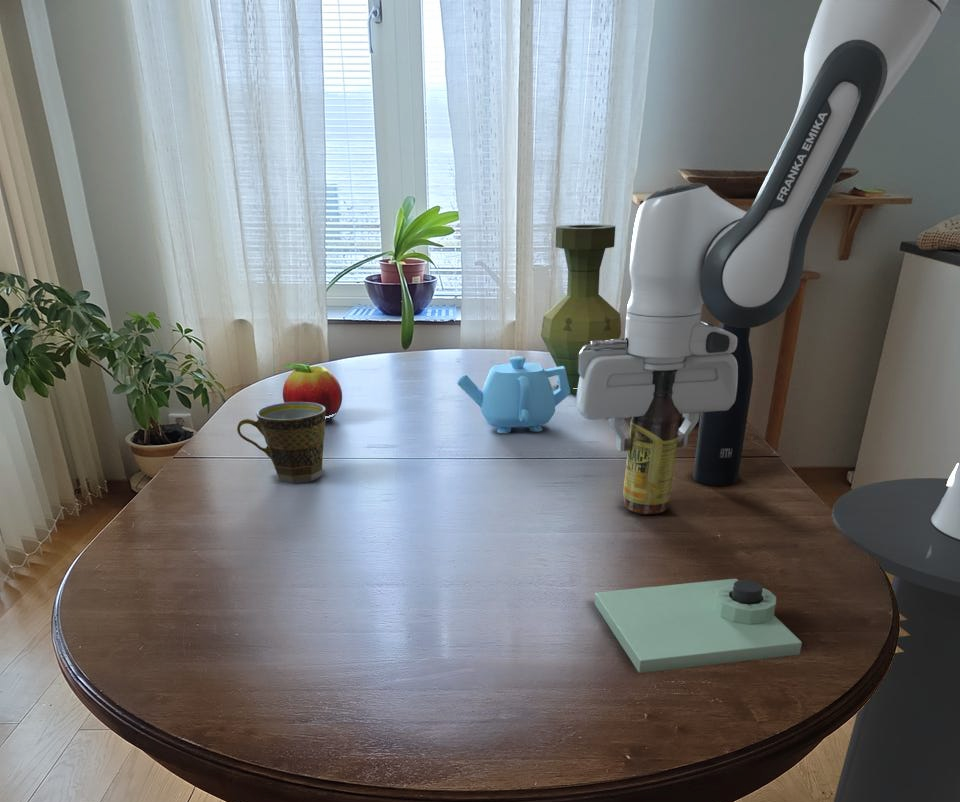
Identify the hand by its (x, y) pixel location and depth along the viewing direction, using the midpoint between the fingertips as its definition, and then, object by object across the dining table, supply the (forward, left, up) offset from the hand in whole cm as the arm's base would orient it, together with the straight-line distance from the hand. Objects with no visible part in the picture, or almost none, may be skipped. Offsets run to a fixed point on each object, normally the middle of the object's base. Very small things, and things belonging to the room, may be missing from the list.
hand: (651, 448), depth 106 cm
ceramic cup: (+48, -24, -8) cm, 54 cm away
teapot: (+9, -43, -8) cm, 45 cm away
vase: (-10, -67, -8) cm, 68 cm away
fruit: (+44, -56, -8) cm, 72 cm away
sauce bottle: (0, 0, -9) cm, 9 cm away
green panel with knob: (+7, +32, -8) cm, 34 cm away
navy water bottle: (-14, -9, -8) cm, 19 cm away
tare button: (+1, +32, -6) cm, 33 cm away
